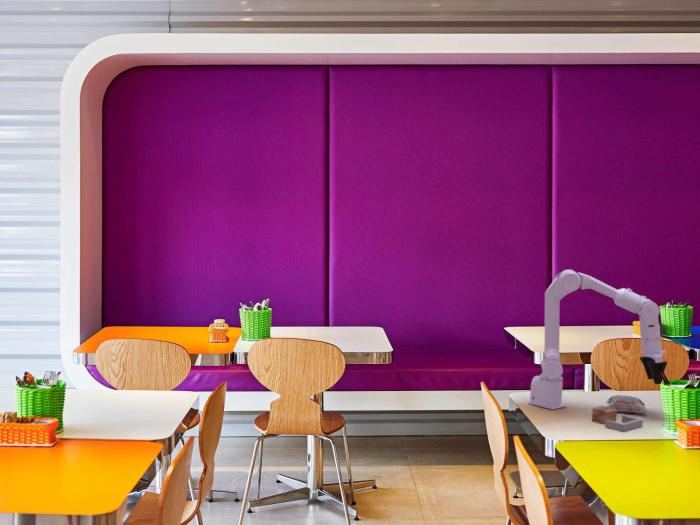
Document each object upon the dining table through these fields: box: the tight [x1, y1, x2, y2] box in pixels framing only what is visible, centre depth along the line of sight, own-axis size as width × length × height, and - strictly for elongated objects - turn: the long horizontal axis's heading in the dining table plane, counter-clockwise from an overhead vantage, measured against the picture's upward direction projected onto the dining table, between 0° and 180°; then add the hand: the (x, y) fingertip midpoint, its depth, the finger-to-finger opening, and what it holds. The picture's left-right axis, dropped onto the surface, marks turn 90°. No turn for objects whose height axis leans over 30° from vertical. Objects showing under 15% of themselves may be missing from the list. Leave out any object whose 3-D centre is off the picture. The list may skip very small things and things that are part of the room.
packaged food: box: [605, 394, 647, 414], centre depth 242 cm, size 9×12×5 cm
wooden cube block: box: [591, 405, 618, 425], centre depth 229 cm, size 5×5×4 cm
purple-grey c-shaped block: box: [604, 414, 644, 433], centre depth 224 cm, size 6×10×2 cm, turn 130°
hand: (655, 381), depth 239 cm, fingers open, 7 cm apart
